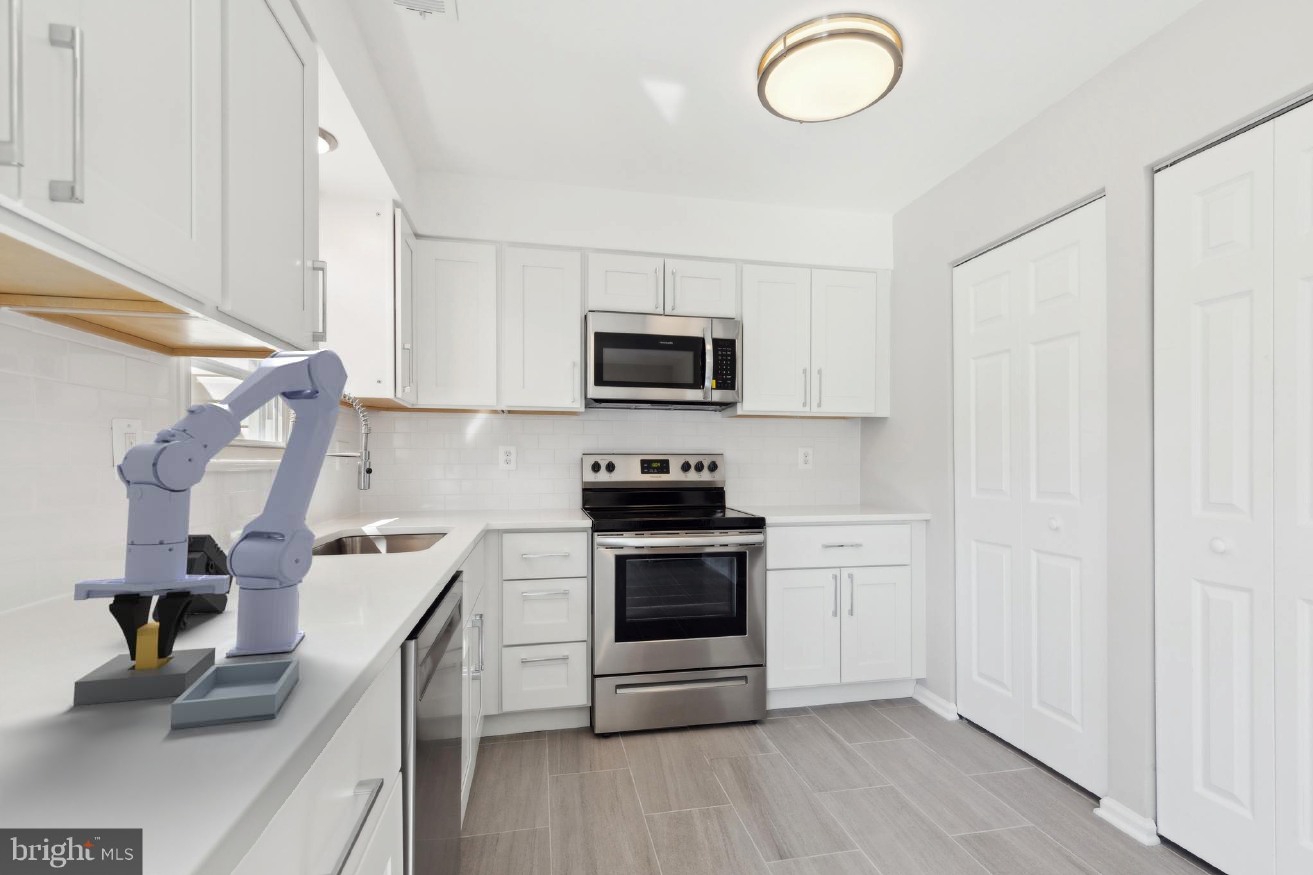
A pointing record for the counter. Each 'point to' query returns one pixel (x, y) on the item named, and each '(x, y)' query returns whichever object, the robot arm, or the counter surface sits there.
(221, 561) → the tool
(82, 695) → the socket block
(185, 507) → the robot arm
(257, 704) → the parts tray
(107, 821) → the counter surface
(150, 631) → the block
